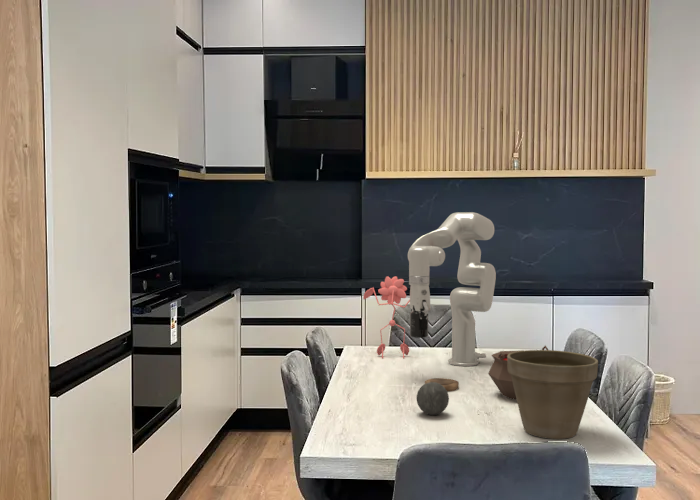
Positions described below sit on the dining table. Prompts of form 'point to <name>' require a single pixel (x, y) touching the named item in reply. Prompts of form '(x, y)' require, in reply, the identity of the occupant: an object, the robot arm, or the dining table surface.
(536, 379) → the plant pot
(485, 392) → the dining table surface
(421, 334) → the supplement bottle
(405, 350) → the figurine
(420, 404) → the decorative ball
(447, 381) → the stand
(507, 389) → the brown faceted vessel
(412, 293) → the robot arm
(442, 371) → the dining table surface
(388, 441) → the dining table surface
